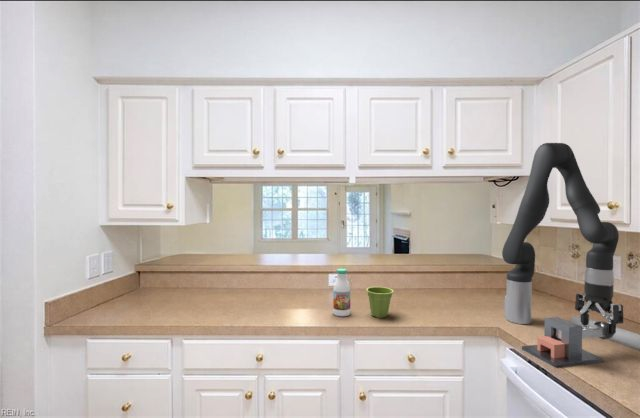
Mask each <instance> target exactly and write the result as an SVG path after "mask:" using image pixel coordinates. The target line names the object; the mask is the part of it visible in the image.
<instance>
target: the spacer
mask: <svg viewBox="0 0 640 418" xmlns="http://www.w3.org/2000/svg"><path fill="white" fill-rule="evenodd" d="M536 343H537V344H536V345H537V350H539V351H548V350H551V357H553V358H562V357H565V344H564V343H562V342H559V341H557V340H555V339H553V338H551V337H548V336H545V337H544V336H538V337H537V342H536Z"/></svg>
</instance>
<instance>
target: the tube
mask: <svg viewBox="0 0 640 418" xmlns="http://www.w3.org/2000/svg"><path fill="white" fill-rule="evenodd" d="M570 322H572V323H575V324H577V325H580V326H584V325H582V323H581V315H576V316H572V317H571V320H570ZM596 322H599V321H598V320H594V319H591V318H589V324H588V325H594V324H595V323H596ZM608 340H610V341H612V342H615V343H618V344H621V345H624V346H627V347H630V348H632V349H635V350H638V349H639V350H638V351H640V333H636V332H632V331H631V330H627V329H624V328H620V327H617V326H616V333H615V334H614V335H613V337H612V338H610V339H608Z"/></svg>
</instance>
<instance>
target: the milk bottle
mask: <svg viewBox="0 0 640 418" xmlns="http://www.w3.org/2000/svg"><path fill="white" fill-rule="evenodd" d="M347 275H348V270H347V268H337V269H336V279H335V282H334V284H333V288H332V289H333V291H332V313H333V315H334V316H336V317H347V316H350V314H351V285H350V284H349V281H348V277H347Z"/></svg>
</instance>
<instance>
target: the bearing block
mask: <svg viewBox="0 0 640 418" xmlns="http://www.w3.org/2000/svg"><path fill="white" fill-rule="evenodd" d="M556 329H558V330H561V331H562V334H561V339H559V338H557V337H556ZM545 336H548V337H551V338H553V339H555V340H557V341H559V342H562V343H564V344H565V357H562V358H553V357H551V350H548V351H539V350H537V344H533V345H532V344H531V345H523V346H521V349H522V351H524V352H526V353H529V354H530V355H532V356H534V357H535V358H537V359H539V360H541V361H543V362H545V363H547V364H548V365H550V366H552V367H554V368H561V367H569V366H571V367H572V366H579V365H580V366H581V365H588V364H595V363H597V364H598V363H604V361H605V360H604V358H603V357H601V356H598V355H597V354H594V353H592V352H590V351H587V350H585V349H583V339H582V326H580V325H577V324H575V323H572V322H571V321H569V320H567V319H565V318H561V317H559V316H552V317H551V316H550V317H544V336H543V337H545Z"/></svg>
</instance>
